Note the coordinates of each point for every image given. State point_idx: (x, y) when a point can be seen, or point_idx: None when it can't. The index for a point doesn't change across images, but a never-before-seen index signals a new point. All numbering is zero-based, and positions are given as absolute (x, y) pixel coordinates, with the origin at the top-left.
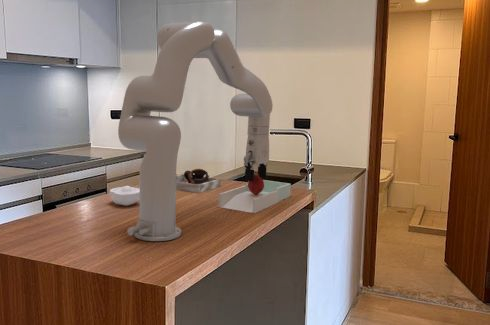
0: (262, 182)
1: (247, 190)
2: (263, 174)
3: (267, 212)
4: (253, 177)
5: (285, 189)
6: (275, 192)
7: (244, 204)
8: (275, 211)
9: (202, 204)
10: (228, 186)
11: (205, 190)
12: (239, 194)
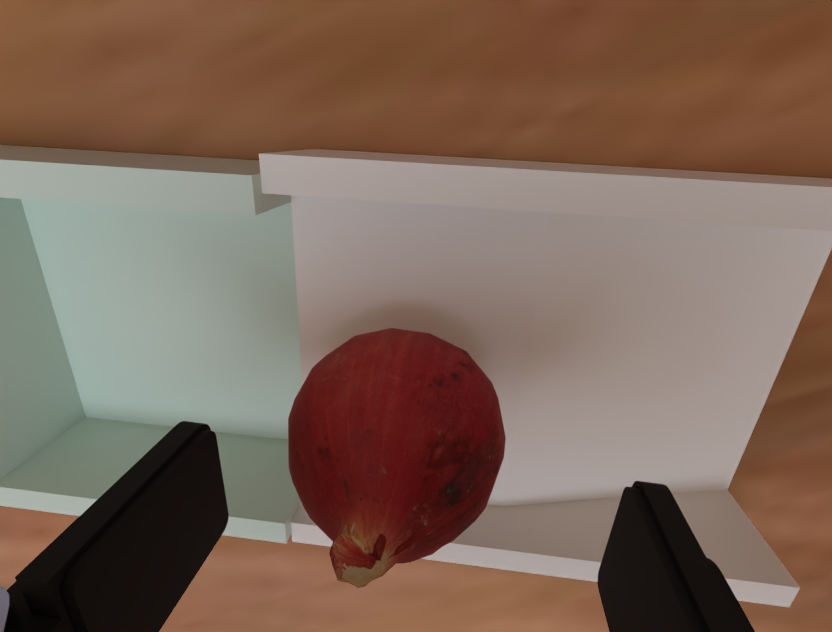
0: (400, 378)
1: None
2: (186, 485)
3: (779, 75)
4: (672, 529)
5: (30, 155)
6: (358, 158)
7: (677, 357)
8: (698, 8)
9: None
10: None
11: None
12: None
